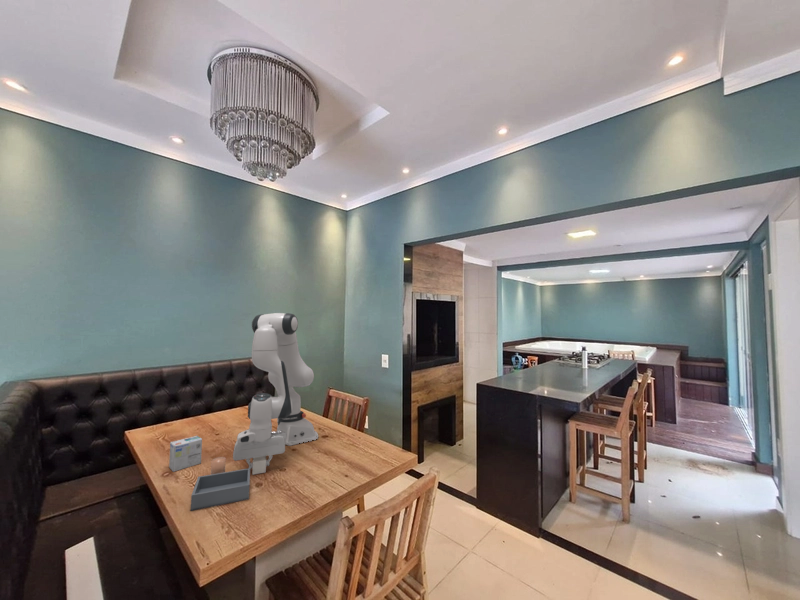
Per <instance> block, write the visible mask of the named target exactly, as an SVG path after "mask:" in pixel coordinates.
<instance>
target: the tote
mask: <svg viewBox="0 0 800 600" xmlns="http://www.w3.org/2000/svg"><path fill="white" fill-rule="evenodd" d="M196 479H197V480H196V481H195V484H194V487H193V490H192V493H191V496H190V512H193V511H197V510H203V509H206V508H213V507H218V506H222V505H227V504H233V503H237V502H242V501H247V500H249V499H250V481H251V469H250V468H249V467H248V468H244V469H243V468H242V469H237V470H231V471H225V472H224V473H218V474H211V473H210V474H206V475H205V474H204V475H200V476H197V478H196Z"/></svg>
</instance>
